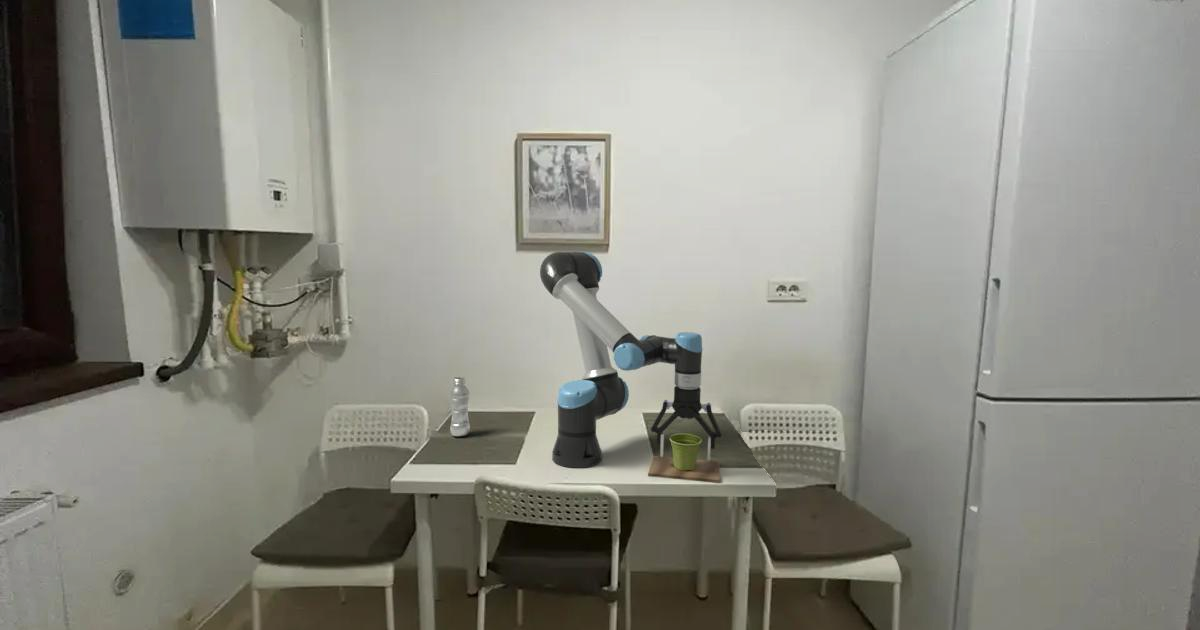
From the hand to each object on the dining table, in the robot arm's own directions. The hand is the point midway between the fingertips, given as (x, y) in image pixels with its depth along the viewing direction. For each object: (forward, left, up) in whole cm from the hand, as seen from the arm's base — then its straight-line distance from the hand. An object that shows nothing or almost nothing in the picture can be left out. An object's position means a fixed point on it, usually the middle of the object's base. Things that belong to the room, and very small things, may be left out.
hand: (685, 457), depth 167 cm
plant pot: (0, 0, -3) cm, 3 cm away
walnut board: (0, 0, -4) cm, 4 cm away
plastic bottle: (-77, +12, -4) cm, 78 cm away
